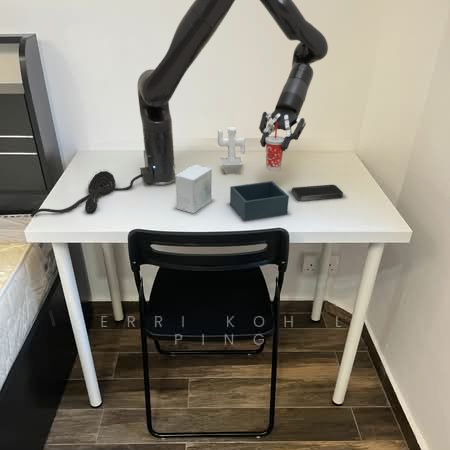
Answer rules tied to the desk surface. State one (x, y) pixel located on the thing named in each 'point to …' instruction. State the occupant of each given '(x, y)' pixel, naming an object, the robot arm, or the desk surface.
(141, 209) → the desk surface
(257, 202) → the tub
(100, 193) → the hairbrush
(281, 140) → the beverage cup
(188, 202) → the cosmetics box
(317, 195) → the phone
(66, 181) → the desk surface
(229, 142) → the figurine
